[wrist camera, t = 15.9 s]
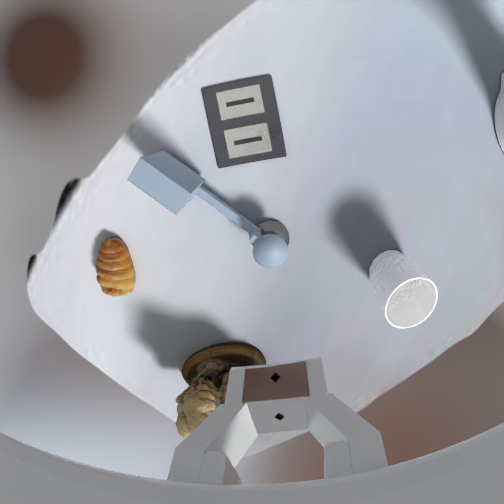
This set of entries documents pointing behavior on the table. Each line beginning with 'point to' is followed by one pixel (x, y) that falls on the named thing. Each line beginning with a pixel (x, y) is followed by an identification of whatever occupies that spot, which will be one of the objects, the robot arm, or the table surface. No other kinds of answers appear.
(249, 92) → the label panel
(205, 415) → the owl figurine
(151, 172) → the swing arm
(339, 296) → the table surface
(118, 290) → the pastry
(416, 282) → the white cup
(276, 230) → the pivot post
